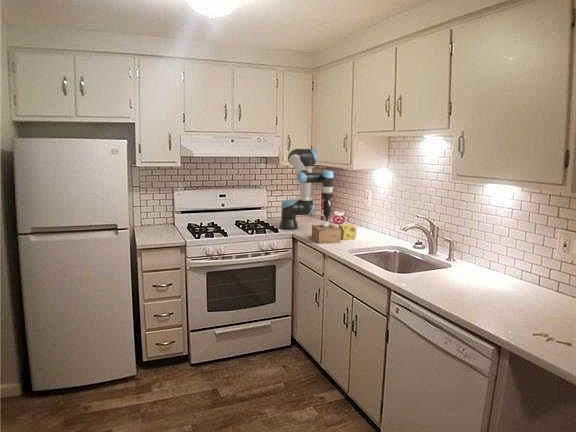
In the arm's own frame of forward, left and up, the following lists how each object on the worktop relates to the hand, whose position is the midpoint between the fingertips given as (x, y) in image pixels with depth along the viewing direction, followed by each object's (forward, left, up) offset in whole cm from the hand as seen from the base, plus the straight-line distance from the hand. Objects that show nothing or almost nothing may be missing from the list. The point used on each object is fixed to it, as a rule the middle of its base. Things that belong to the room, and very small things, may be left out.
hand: (326, 225), depth 303 cm
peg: (0, 0, -11) cm, 11 cm away
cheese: (-5, +18, -11) cm, 22 cm away
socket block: (0, 0, -11) cm, 11 cm away
